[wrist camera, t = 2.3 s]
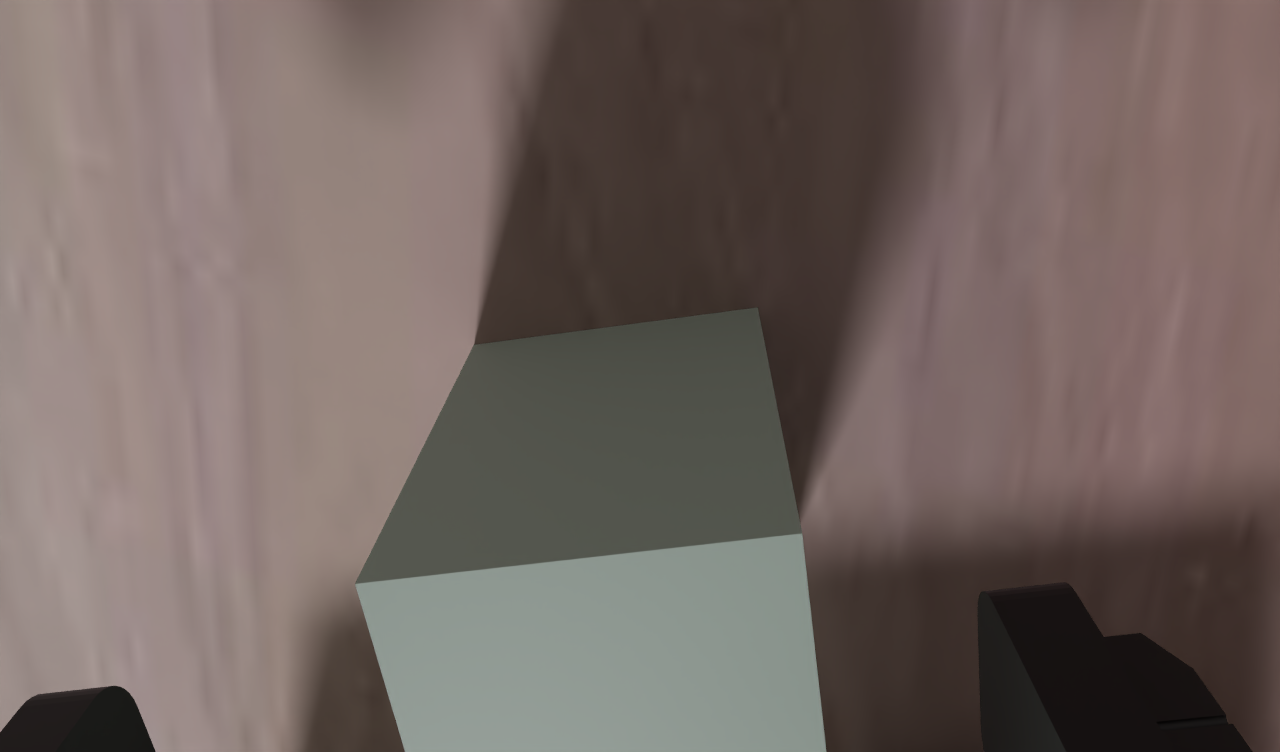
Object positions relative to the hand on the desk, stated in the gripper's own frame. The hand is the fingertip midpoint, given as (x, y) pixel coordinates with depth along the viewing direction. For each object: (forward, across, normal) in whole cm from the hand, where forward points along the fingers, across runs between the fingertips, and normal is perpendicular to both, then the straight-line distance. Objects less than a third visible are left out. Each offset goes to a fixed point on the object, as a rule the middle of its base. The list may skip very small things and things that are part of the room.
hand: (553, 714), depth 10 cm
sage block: (+6, -1, 0) cm, 6 cm away
